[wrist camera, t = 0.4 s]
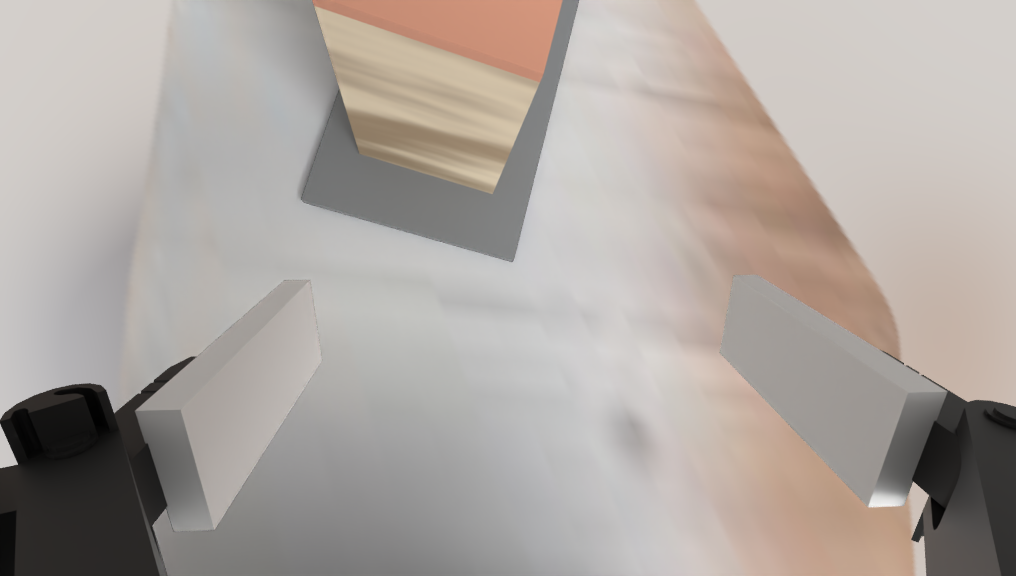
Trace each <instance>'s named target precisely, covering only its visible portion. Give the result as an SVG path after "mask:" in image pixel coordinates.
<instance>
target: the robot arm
mask: <svg viewBox="0 0 1016 576" xmlns="http://www.w3.org/2000/svg"><path fill="white" fill-rule="evenodd" d="M720 354H721V355H722V356H723V357H724V358H725V359H726V360H727V361H728V362H729V363H730V364H731V365H732V366H733V367H734V368H735V369H736V370H737V371H738V372H739V373H740V374H741V376H742V377H743V378H744V379H745V380H746V381H747V382H748V383H749V384H750V385H751V386H752V387H753V388H754V389H755V390H756V391H757V392H758V393H759V394H760V395H761V396H762V397H763V398H764V399H765V401H766V402H767V403H768V404H769V405H770V406H771V407H772V408H773V409H774V410H775V411H776V412H777V413H778V414H779V415H780V416H781V417H782V418H783V419H784V420H785V421H786V422H787V423H788V424H789V425H790V427H791V428H792V429H793V430H794V431H795V432H796V433H797V434H798V435H799V436H800V437H801V438H802V439H803V440H804V441H805V442H806V443H807V444H808V445H809V446H810V447H811V448H812V449H813V450H814V452H815V453H816V454H817V455H818V456H819V457H820V458H821V459H822V460H823V461H824V462H825V463H826V464H827V465H828V466H829V467H830V468H831V469H832V470H833V471H834V472H835V473H836V474H837V475H838V476H839V478H840V479H841V480H842V481H843V482H844V483H845V484H846V485H847V486H848V487H849V488H850V489H851V490H852V491H853V492H854V493H855V494H856V495H857V496H858V497H859V498H860V499H861V500H862V501H863V503H864V504H865V505H866V506H867V507H889V506H904V504H905V501H906V499H907V496H908V493H909V491H910V488H911V486H912V483H913V481H914V482H915V483H916V484H917V485H918V486H919V487H920V488H922V489H923V490H924V491H925V492H926V493H927V494H929V497H928V500H927V502H926V505H925V507H924V509H923V512H922V514H921V517H920V519H919V522H918V524H917V527H916V529H915V532H914V534H913V537H912V539H911V540H913V541H916V542H919V540H920V538H921V536H924V541H925V558H926V575H927V576H1016V407H1014V406H1010V405H1007V404H1003V403H997V402H993V401H983V400H974V401H970V402H967V401H965V400H963V399H962V398H960V397H958V396H957V395H955V394H953V393H951V392H950V391H948V390H947V389H945V388H944V387H942V386H940V385H939V384H937V383H935V382H934V381H932V380H930V379H929V378H927V377H926V376H924V375H919V372H917V371H915V370H914V369H912V368H910V367H909V366H905V365H904V363H903V362H901V361H899V360H898V359H896V358H894V357H893V356H891V355H889V354H888V353H886V352H884V351H881V350H879V349H877V348H876V347H874V346H872V345H871V344H869V343H867V342H866V341H864V340H863V339H861V338H859V337H858V336H856V335H854V334H853V333H851V332H850V331H848V330H846V329H845V328H843V327H841V326H840V325H838V324H837V323H835V322H833V321H832V320H830V319H828V318H827V317H825V316H823V315H822V314H820V313H819V312H817V311H815V310H814V309H812V308H810V307H809V306H807V305H806V304H804V303H802V302H801V301H799V300H797V299H796V298H794V297H793V296H791V295H789V294H788V293H786V292H784V291H783V290H781V289H779V288H778V287H776V286H775V285H773V284H771V283H770V282H768V281H766V280H765V279H763V278H762V277H760V276H758V275H734V277H733V282H732V288H731V293H730V299H729V304H728V310H727V315H726V321H725V326H724V332H723V337H722V343H721V348H720ZM321 362H322V356H321V349H320V342H319V336H318V329H317V322H316V316H315V309H314V302H313V296H312V289H311V282H310V280H284V281H283V282H282V283H281V284H280V285H278V286H277V287H276V288H275V289H274V290H273V291H272V292H270V293H269V294H268V295H267V296H266V297H265V298H264V299H262V300H261V301H260V302H259V303H258V304H257V305H256V306H254V307H253V308H252V309H251V310H250V311H249V312H248V313H246V314H245V315H244V316H243V317H242V318H241V319H239V320H238V321H237V322H236V323H235V324H234V325H233V326H231V327H230V328H229V329H228V330H227V331H226V332H225V333H223V334H222V335H221V336H220V337H219V338H218V339H217V340H215V341H214V342H213V343H212V344H211V345H210V346H209V347H207V348H206V349H205V350H204V351H203V352H202V353H201V354H199V355H198V356H197V357H190V358H188V359H186V360H184V361H182V362H180V363H178V364H176V365H174V366H172V367H170V368H168V369H167V370H166V371H165V372H163V373H162V374H161V375H160V376H159V377H157V378H156V379H155V380H154V383H150V384H149V385H148V386H147V387H145V388H144V389H143V390H142V391H141V394H137V395H136V396H135V397H133V398H132V399H131V400H130V401H129V402H127V403H126V404H125V405H124V406H123V407H121V408H120V409H119V410H118V411H117V412H115V413H114V412H113V409H112V406H111V403H110V400H109V398H108V395H107V392H106V390H105V389H104V388H103V387H102V386H101V385H96V384H90V383H89V384H75V385H69V386H65V387H60V388H55V389H52V390H49V391H46V392H43V393H40V394H38V395H34V396H32V397H30V398H28V399H26V400H24V401H22V402H20V403H18V404H16V405H15V406H13V407H12V408H11V409H9V410H8V411H7V412H5V413H4V415H3V416H2V418H1V420H0V424H1V427H2V429H3V431H4V433H5V436H6V438H7V440H8V442H9V444H10V447H11V449H12V451H13V453H14V456H15V458H16V460H17V463H18V465H14V466H10V467H5V468H0V576H167V573H166V569H165V566H164V563H163V559H162V556H161V552H160V549H159V546H158V542H157V539H156V536H155V533H154V530H153V527H152V525H153V524H154V522H155V521H156V520H157V519H158V517H159V516H160V515H161V514H162V512H163V511H164V510H165V509H166V510H167V513H168V516H169V519H170V522H171V525H172V528H173V531H174V532H178V531H206V530H215V529H216V527H217V525H218V524H219V522H220V521H221V519H222V517H223V516H224V514H225V513H226V511H227V510H228V508H229V506H230V505H231V503H232V502H233V500H234V499H235V497H236V495H237V494H238V492H239V491H240V489H241V488H242V486H243V484H244V483H245V481H246V480H247V478H248V477H249V475H250V473H251V472H252V470H253V469H254V467H255V466H256V464H257V462H258V461H259V459H260V458H261V456H262V454H263V453H264V451H265V450H266V448H267V447H268V445H269V443H270V442H271V440H272V439H273V437H274V436H275V434H276V432H277V431H278V429H279V428H280V426H281V425H282V423H283V421H284V420H285V418H286V417H287V415H288V414H289V412H290V410H291V409H292V407H293V406H294V404H295V402H296V401H297V399H298V398H299V396H300V395H301V393H302V391H303V390H304V388H305V387H306V385H307V384H308V382H309V380H310V379H311V377H312V376H313V374H314V373H315V371H316V369H317V368H318V366H319V365H320V363H321Z"/></svg>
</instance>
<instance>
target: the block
mask: <svg viewBox="0 0 1016 576" xmlns="http://www.w3.org/2000/svg"><path fill="white" fill-rule="evenodd" d="M312 1H313V4H314V7H315V11H316V14H317V17H318V20H319V24H320V27H321V30H322V33H323V37H324V40H325V43H326V46H327V50H328V53H329V56H330V59H331V63H332V66H333V69H334V72H335V76H336V79H337V82H338V85H339V89H340V92H341V95H342V98H343V102H344V105H345V108H346V111H347V115H348V118H349V121H350V124H351V128H352V131H353V134H354V137H355V141H356V144H357V147H358V150H359V154H362V155H365V156H368V157H371V158H375V159H378V160H381V161H385V162H388V163H391V164H395V165H398V166H401V167H404V168H408V169H411V170H414V171H418V172H421V173H424V174H428V175H431V176H434V177H437V178H441V179H444V180H447V181H451V182H454V183H457V184H460V185H464V186H467V187H470V188H474V189H477V190H480V191H484V192H487V193H490V194H493V192H494V189H495V187H496V185H497V182H498V180H499V178H500V175H501V173H502V171H503V168H504V166H505V164H506V161H507V159H508V156H509V154H510V152H511V149H512V147H513V145H514V142H515V140H516V138H517V135H518V133H519V131H520V128H521V126H522V123H523V121H524V119H525V116H526V114H527V112H528V109H529V107H530V105H531V102H532V100H533V98H534V95H535V93H536V91H537V88H538V86H539V83H540V81H541V79H542V76H543V74H544V70H545V66H546V63H547V59H548V55H549V51H550V47H551V43H552V39H553V36H554V32H555V28H556V24H557V20H558V16H559V12H560V9H561V5H562V1H563V0H312Z"/></svg>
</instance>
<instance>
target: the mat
mask: <svg viewBox="0 0 1016 576" xmlns="http://www.w3.org/2000/svg"><path fill="white" fill-rule="evenodd" d="M578 3H579V0H563V1H562V5H561V9H560V12H559V16H558V20H557V24H556V28H555V32H554V36H553V39H552V43H551V47H550V51H549V55H548V59H547V63H546V66H545V70H544V74H543V76H542V79H541V81H540V83H539V86H538V88H537V91H536V93H535V95H534V98H533V100H532V102H531V105H530V107H529V109H528V112H527V114H526V116H525V119H524V121H523V123H522V126H521V128H520V131H519V133H518V135H517V138H516V140H515V142H514V145H513V147H512V149H511V152H510V154H509V156H508V159H507V161H506V164H505V166H504V168H503V171H502V173H501V175H500V178H499V180H498V182H497V185H496V187H495V189H494V192H493V194H490V193H487V192H484V191H480V190H477V189H474V188H470V187H467V186H464V185H460V184H457V183H454V182H451V181H447V180H444V179H441V178H437V177H434V176H431V175H428V174H424V173H421V172H418V171H414V170H411V169H408V168H404V167H401V166H398V165H395V164H391V163H388V162H385V161H381V160H378V159H375V158H371V157H368V156H365V155H362V154H359V150H358V147H357V144H356V141H355V137H354V134H353V131H352V128H351V124H350V121H349V118H348V115H347V111H346V108H345V105H344V102H343V98H342V95H341V92H340V89H339V91H338V94H337V97H336V100H335V103H334V106H333V109H332V112H331V114H330V117H329V120H328V123H327V126H326V129H325V132H324V135H323V137H322V140H321V143H320V146H319V149H318V152H317V155H316V158H315V160H314V163H313V166H312V169H311V172H310V175H309V178H308V181H307V184H306V186H305V189H304V192H303V195H302V198H301V200H302V201H303V202H304V203H307V204H311V205H314V206H318V207H321V208H325V209H328V210H332V211H335V212H339V213H342V214H346V215H349V216H353V217H356V218H360V219H363V220H367V221H370V222H374V223H377V224H381V225H384V226H388V227H391V228H395V229H398V230H402V231H405V232H409V233H412V234H416V235H419V236H423V237H426V238H430V239H433V240H437V241H440V242H444V243H447V244H451V245H454V246H458V247H461V248H465V249H468V250H472V251H475V252H479V253H482V254H486V255H489V256H493V257H496V258H500V259H503V260H507V261H510V262H513V260H514V257H515V253H516V249H517V245H518V241H519V237H520V233H521V229H522V225H523V221H524V217H525V213H526V210H527V206H528V202H529V198H530V194H531V190H532V186H533V182H534V178H535V174H536V170H537V166H538V162H539V158H540V154H541V150H542V146H543V142H544V138H545V134H546V130H547V126H548V122H549V118H550V114H551V110H552V106H553V102H554V98H555V94H556V90H557V86H558V82H559V79H560V75H561V71H562V67H563V63H564V59H565V55H566V51H567V47H568V43H569V39H570V35H571V31H572V27H573V23H574V19H575V15H576V11H577V7H578Z"/></svg>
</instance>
